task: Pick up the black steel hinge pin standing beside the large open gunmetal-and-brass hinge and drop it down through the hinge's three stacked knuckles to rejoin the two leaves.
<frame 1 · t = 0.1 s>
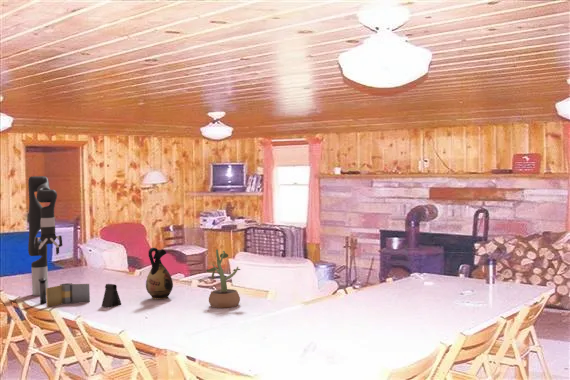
hand: (48, 255, 345), 29 cm above the table, tool pointing down, fingers open, 8 cm apart
potted plant: (223, 304, 342), on the table
hinge pin: (43, 303, 358), on the table
ceramic jug: (158, 298, 363), on the table
hinge: (66, 302, 358), on the table
phone stand: (111, 306, 346), on the table
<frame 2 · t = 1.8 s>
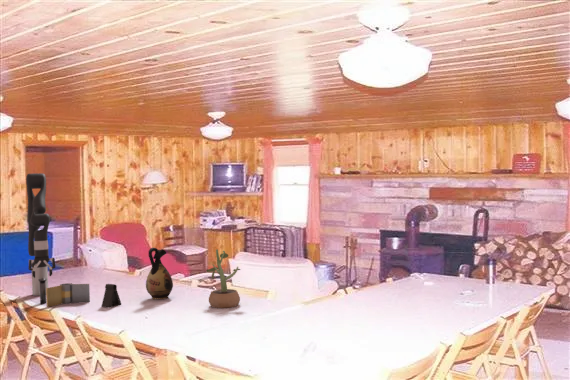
hand: (42, 276, 357), 15 cm above the table, tool pointing down, fingers open, 8 cm apart
nothing on the table moved.
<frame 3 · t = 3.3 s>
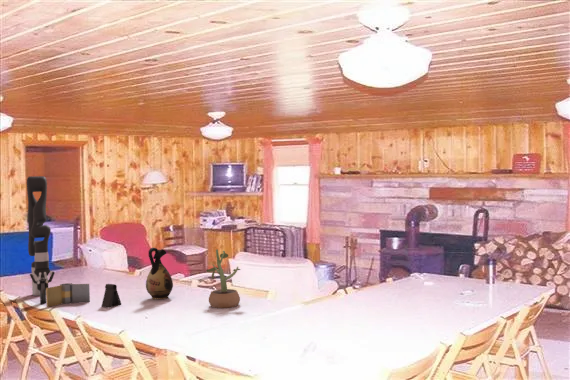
hand: (42, 289, 358), 8 cm above the table, tool pointing down, fingers closed on hinge pin, 3 cm apart
hinge pin: (43, 303, 358), on the table, touching gripper
everything else where it was.
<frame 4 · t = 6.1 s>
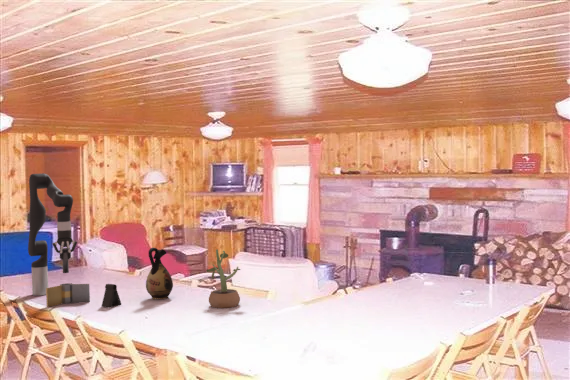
hand: (65, 259, 357), 25 cm above the table, tool pointing down, fingers closed on hinge pin, 3 cm apart
hinge pin: (65, 272, 358), point 17 cm above the table, touching gripper
everything else where it was.
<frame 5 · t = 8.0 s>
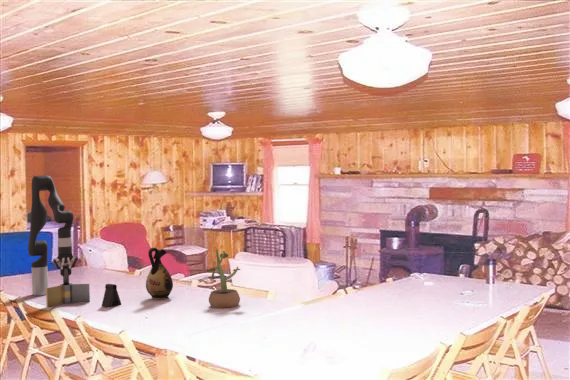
hand: (65, 275, 358), 16 cm above the table, tool pointing down, fingers closed on hinge pin, 3 cm apart
hinge pin: (66, 288, 358), point 8 cm above the table, touching gripper
everything else where it was.
when the fingers open (13 cm above the table, at t = 9.2 s): hinge pin drops 5 cm, resting in hinge.
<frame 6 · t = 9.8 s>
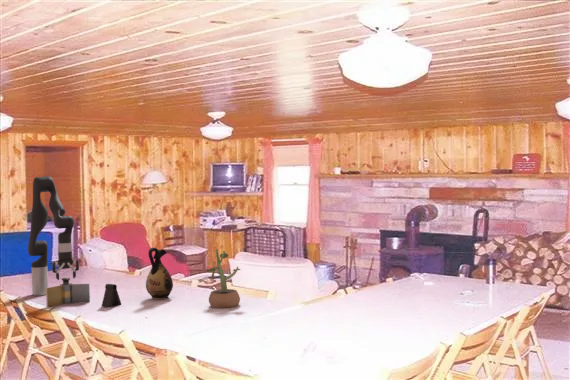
hand: (66, 278, 358), 14 cm above the table, tool pointing down, fingers open, 8 cm apart
hinge pin: (66, 302, 358), resting in hinge
everything else where it was.
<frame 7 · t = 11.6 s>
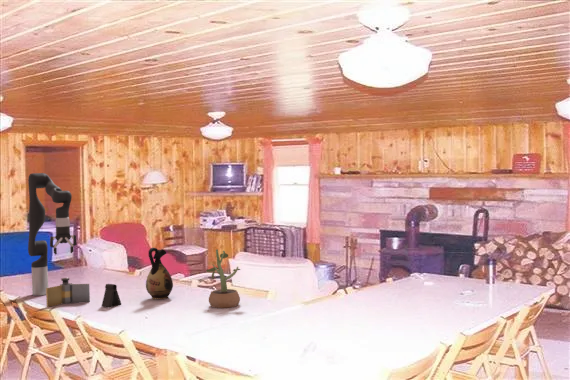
hand: (63, 253, 358), 28 cm above the table, tool pointing down, fingers open, 8 cm apart
nothing on the table moved.
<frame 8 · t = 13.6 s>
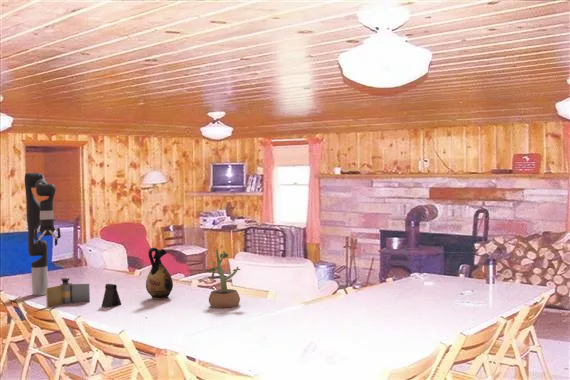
hand: (47, 246, 362), 32 cm above the table, tool pointing down, fingers open, 8 cm apart
nothing on the table moved.
at the end: hinge pin 0.4 cm from the hinge (horizontally); hinge pin resting in hinge; hinge pin tilted 0° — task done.
